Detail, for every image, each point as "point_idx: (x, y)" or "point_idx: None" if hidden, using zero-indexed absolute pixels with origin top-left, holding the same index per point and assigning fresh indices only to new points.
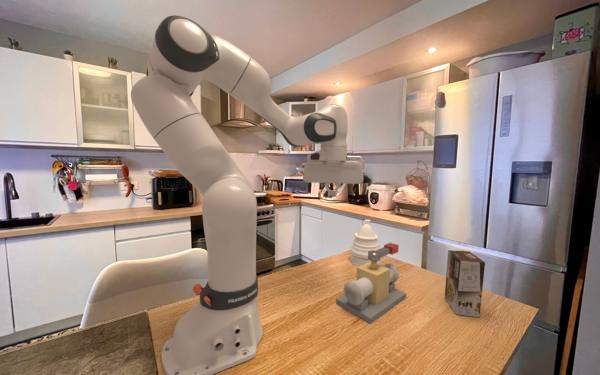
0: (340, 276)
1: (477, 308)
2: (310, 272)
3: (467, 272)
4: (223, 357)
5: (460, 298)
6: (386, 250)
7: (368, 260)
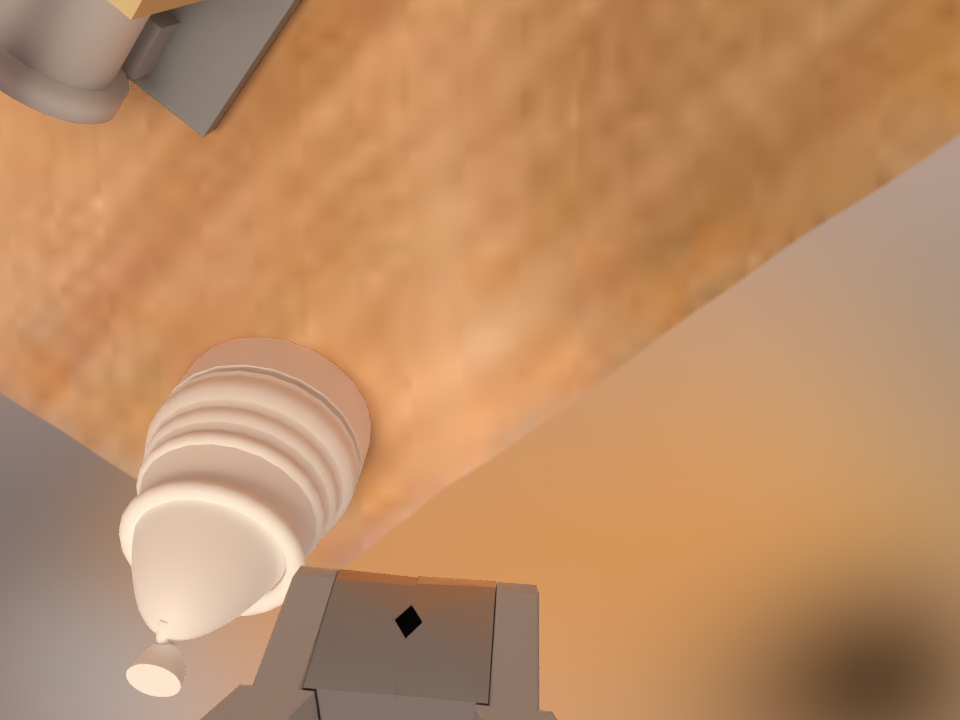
0: (432, 195)
1: None
2: (643, 225)
3: None
4: None
5: None
6: None
7: (237, 364)
